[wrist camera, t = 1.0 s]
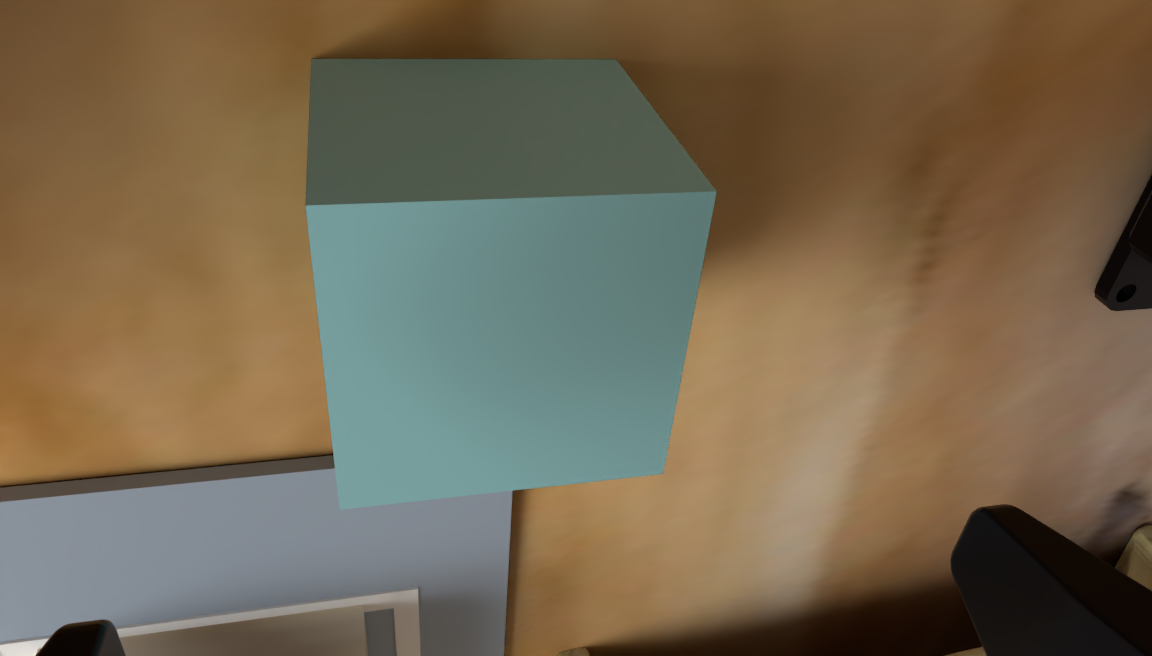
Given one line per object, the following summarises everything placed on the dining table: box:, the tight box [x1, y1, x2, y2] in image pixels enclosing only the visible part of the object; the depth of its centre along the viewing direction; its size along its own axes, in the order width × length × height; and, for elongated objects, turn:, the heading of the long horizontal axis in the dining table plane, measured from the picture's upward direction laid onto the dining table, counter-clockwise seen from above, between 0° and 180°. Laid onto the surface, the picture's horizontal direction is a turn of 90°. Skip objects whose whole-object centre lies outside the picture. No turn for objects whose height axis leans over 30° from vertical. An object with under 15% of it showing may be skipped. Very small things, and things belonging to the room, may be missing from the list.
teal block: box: [306, 59, 717, 510], centre depth 14 cm, size 5×5×5 cm
